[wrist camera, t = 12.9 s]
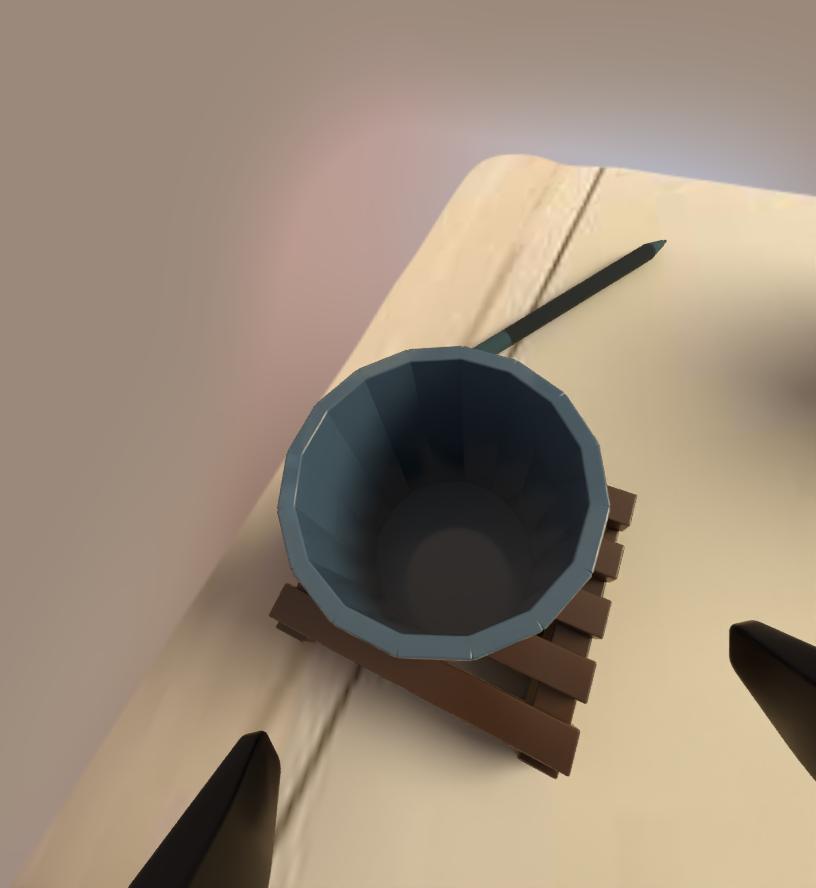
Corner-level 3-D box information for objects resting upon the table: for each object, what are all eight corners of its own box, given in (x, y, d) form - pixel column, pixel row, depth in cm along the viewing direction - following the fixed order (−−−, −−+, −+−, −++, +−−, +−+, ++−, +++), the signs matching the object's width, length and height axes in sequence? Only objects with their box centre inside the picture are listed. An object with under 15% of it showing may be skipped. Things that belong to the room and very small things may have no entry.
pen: (668, 253, 26) (677, 237, 25) (461, 380, 24) (461, 368, 23) (655, 244, 26) (662, 228, 25) (451, 368, 24) (450, 355, 23)
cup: (506, 684, 15) (549, 738, 7) (341, 601, 17) (218, 565, 9) (560, 510, 17) (642, 392, 9) (410, 456, 19) (365, 319, 11)
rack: (549, 764, 16) (566, 791, 13) (293, 627, 19) (262, 625, 17) (615, 508, 20) (640, 486, 17) (390, 431, 23) (379, 402, 20)
